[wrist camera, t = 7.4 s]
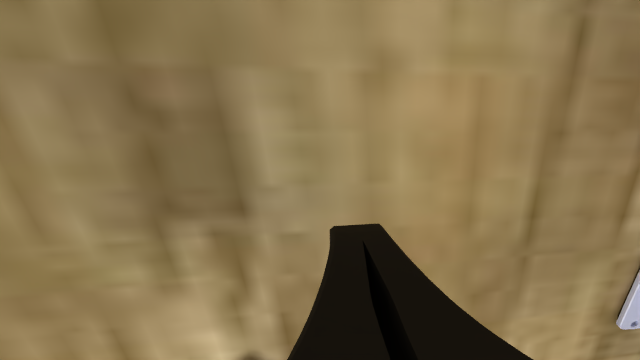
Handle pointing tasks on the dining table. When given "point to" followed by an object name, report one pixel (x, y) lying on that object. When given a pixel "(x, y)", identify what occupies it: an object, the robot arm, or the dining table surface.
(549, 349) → the dining table surface
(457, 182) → the dining table surface
